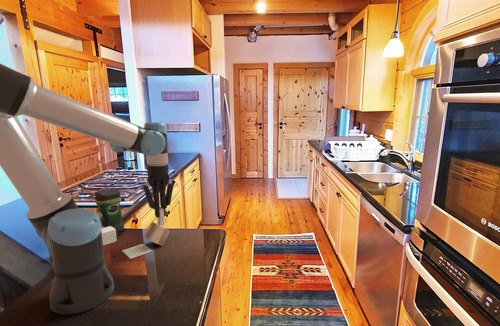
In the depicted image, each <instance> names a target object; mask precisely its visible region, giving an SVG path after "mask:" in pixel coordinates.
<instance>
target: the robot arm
mask: <svg viewBox="0 0 500 326" xmlns="http://www.w3.org/2000/svg"><path fill="white" fill-rule="evenodd" d="M19 116H27V117H28V118H29V117H30V118H32V119H36V120H38V121H42V122H45V123H48V124H51V125H53V126H54V125H55V127H59V128H63V129H65V130H70V131H72V132H75V133H78V134H81V135H84V136H88V137H91V138H93V139H97V140H100V141H103V142H106V143H109V147H110V148H111V150H112V151H113V152H115V153H119V152H120V153H125V152H131V153H136V154H141V155H146V164H147V166H146V169H147V170H146V171H147V172H146V173H147V179H146V181H145V183H144V184H143V183H142V184H141V185H140V187H141V188H142V190H143V193H144V194H145V197H146V201H147V204H148V207H149V208H150V209H152V210H154V217H155V218H157V224H158V225H160V226H162V227H163V226H165V217H166V215H167V208H168V206H170V205H171V202H172V196H173V191H174V186H175V184H176V180H174V179H172V178H170V174H169V173H170V172H169V165H168V163H169V153H168V152H169V151H168V132H167V125H166V123H165V122H161V121H160V122H159V121H158V122H157V121H155V122H154V121H149V122H148V121H147V122H145V123H144V125H143V126H144V127H142V126H139V125H137V124H135V123H133V122H130V121H128V120H125V119H122V118H121V117H118V116H115V115H113V114H111V113H108V112H105V111H104V110H100V109H98V108H95V107H94V106H91V105H88V104H86V103H84V102H81V101H78V100H76V99H73V98H71V97H69V96H66V95H64V94H61V93H58V92H56V91H54V90H51V89H49V88H46V87H43V86H42V85H39V84H37V83H36V82H35V80H34V79H33V77H31V76H28V75H27V74H24V73H22V72H19V71H18V70H15V69H13V68H11V67H9V66H6V65H4V64H2V63H0V168H1V169H2V170H3V172H4V173H5V175H6V177H7V178H8V180H10V182H11V184H12V185H13V186H14V188H15V190H16V191H17V193H18V194H19V195H20V197H21V198H22V200H23V201H24V203H25V204H26V207H28V209H27V212H26V215H25V216H26V218H27V219H28V221H29V222H30V223H31V225H32V227H33V228H34V229H35V232H36V234H37V236H38V237H39V238H40V239H41V240H42V241H43V242H44V244H45V245H46V246H47V247H48V249H49V250H50V253H51V260H52V267H53V273H54V277H53V281H52V284H51V285H52V286H51V289H50V294H49V298H48V301H49V307H50V310H51V311H52V312H53V313H55V314H59V315H75V314H79V313H83V312H87V311H89V310H91V309H94V308H96V307H98V306H100V305H101V304H103V303H104V302H106V301H107V300H108V298H110V297H111V296H112V295H113V293H114V290H115V285H114V284H115V283H114V279H113V276H112V275H111V273H110V271H109V269H108V267H107V265H106V263H105V254H104V245H103V241H102V231H101V229H102V224H101V221H100V217H99V215H98V212H96V211H95V210H93V209H89V208H82V207H81V208H79V206H78V205H77V203H76V201H75V199H74V198H73V196H72V194H70V193H67V192H66V193H65V192H62V189H61V188H60V187H59V185H58V183H57V180H56V179H55V178H54V176H53V175H52V173H51V172H50V170H49V168H48V166H47V164H46V163H45V161H44V159H43V158H42V156H41V155H40V153H39V151H38V150H37V148H36V146H35V145H34V143H33V141H32V139H31V138H30V136H29V135H28V133H27V131H26V130H25V128H24V126H23V125H22V123H21V121H20V120H19ZM150 187H151V188H152V189H150ZM151 190H152V193H151ZM152 195H153V196H152Z"/></svg>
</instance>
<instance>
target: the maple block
mask: <svg viewBox="0 0 500 326" xmlns="http://www.w3.org/2000/svg"><path fill="white" fill-rule="evenodd" d="M171 234H172V231H171V230H169V229H167V228H166V227H164V226H163V225H162V226H160V225H159V224H158V223H156V222H154V221H151V223H150V224H149V226H148V228H147V229H146V231H145V232H144V234H143V237H145V238H146V239H147V240H149V241H150V242H152V243H154V244H156V245H159V246H161V247H164V245H165V243H166V242H167V241H168V238H169V236H170V235H171Z"/></svg>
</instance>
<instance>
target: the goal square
mask: <svg viewBox="0 0 500 326" xmlns="http://www.w3.org/2000/svg"><path fill="white" fill-rule="evenodd" d="M121 251H122V253H124V254H125V255H126V256H127V257H128V258H129V259H130V260H131V259H132V260H133V259H134V258H136V257H139V256H140V257H141V256H144V255H145V254H149V253H151V252H153V250H152V248H150V247H148V246H147V245H146V244H145V243H142V244H141V243H140V244H138V245H135V246H132V247H129V248H126V249H123V250H121Z"/></svg>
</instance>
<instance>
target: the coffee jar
mask: <svg viewBox="0 0 500 326" xmlns="http://www.w3.org/2000/svg"><path fill="white" fill-rule="evenodd" d="M121 199H122V195H121V191H120V189H118V188H116V187H111V188H106V189H102V190H97V191H95V193H94V203H95V204H96V206H97V214H98V215H99V217H100V221H101V224H102V228H105V227H109V226H111V227H113V228H114V229H115V230H116V233H118V232H121V231H123V230H124V229H125V224H124V219H123V215H122V210H121Z"/></svg>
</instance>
